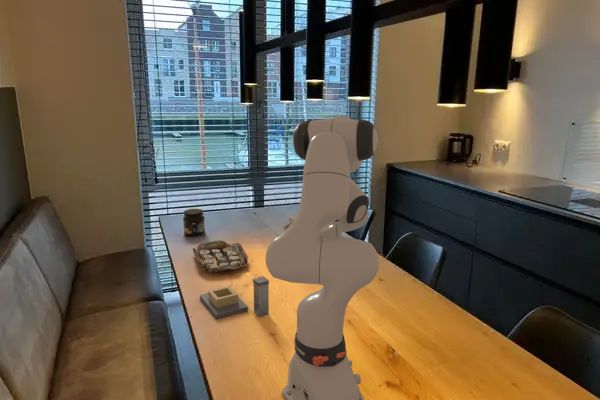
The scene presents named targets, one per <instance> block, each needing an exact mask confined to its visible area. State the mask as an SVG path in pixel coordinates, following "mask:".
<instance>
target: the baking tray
mask: <svg viewBox="0 0 600 400" xmlns="http://www.w3.org/2000/svg"><path fill="white" fill-rule="evenodd" d="M192 252H193V253H194V257H195V259H196V262H197V263H198V264H199V266H201V267H204V269H205V270H207V271H208V272H209V273H210V274H212V273H213V274H216V273H221V272H224V271H225V272H226V271H233V270H237V269H243V267H245V266H249V263H248V258H249V256H248V254H247V253H246V251H245V249H244V247H243V245H242V244H241V243H240V242H234V243H231V244H229V243H227V241H224V240H210V241H208V240H207V241H206V242H203V243H200V244H198V245H196V246H195V247H193V248H192ZM214 259H215V260H214ZM215 261H216V263H215Z"/></svg>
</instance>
